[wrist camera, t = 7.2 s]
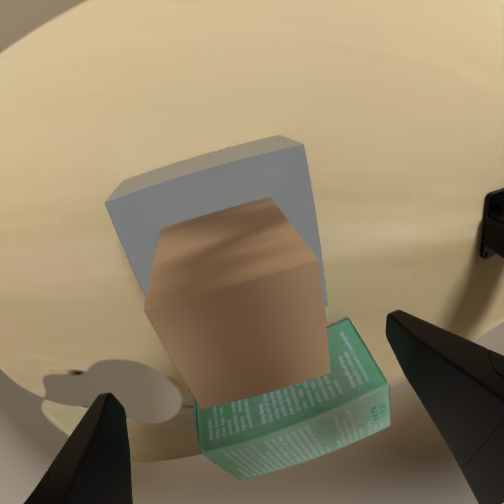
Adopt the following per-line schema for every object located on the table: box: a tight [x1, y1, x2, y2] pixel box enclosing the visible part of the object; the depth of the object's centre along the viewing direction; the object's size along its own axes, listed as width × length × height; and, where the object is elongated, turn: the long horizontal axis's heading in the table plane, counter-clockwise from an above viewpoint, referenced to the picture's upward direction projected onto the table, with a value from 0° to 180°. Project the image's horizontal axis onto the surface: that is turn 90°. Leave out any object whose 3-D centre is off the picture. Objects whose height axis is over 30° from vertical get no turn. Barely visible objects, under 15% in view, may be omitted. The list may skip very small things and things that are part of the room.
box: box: [194, 318, 390, 479], centre depth 22 cm, size 7×14×8 cm, turn 112°
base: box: [105, 135, 328, 307], centre depth 17 cm, size 9×9×4 cm
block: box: [144, 197, 331, 409], centre depth 12 cm, size 5×5×6 cm
